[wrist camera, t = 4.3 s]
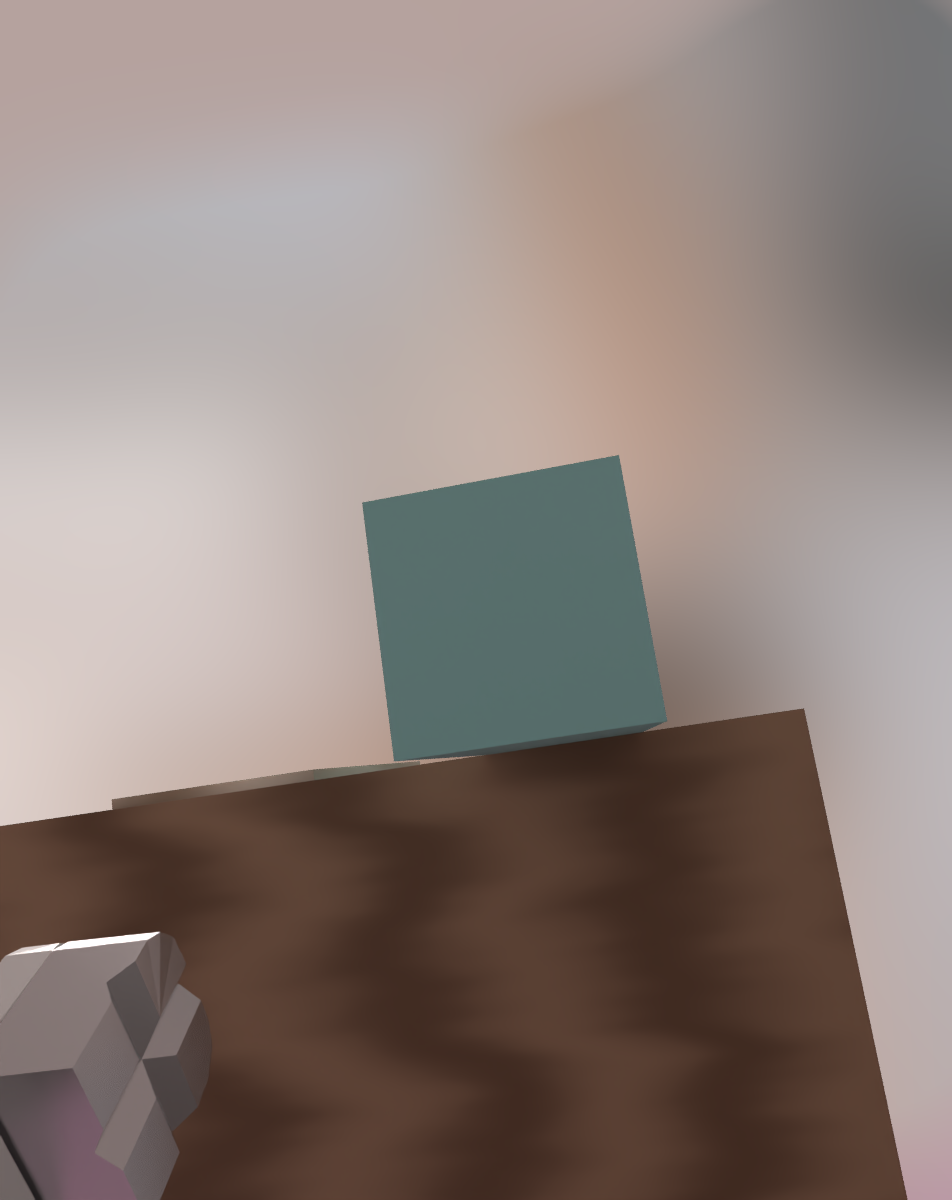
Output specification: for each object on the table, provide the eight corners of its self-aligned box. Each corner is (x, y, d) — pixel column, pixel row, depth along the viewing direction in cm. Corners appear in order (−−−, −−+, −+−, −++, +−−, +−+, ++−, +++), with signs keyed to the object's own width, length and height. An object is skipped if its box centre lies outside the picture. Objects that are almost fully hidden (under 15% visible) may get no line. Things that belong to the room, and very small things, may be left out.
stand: (39, 2015, 20) (-9, 816, 24) (308, 1416, 37) (250, 787, 42) (1086, 2050, 17) (801, 696, 22) (844, 1387, 35) (715, 718, 39)
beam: (394, 760, 13) (362, 503, 14) (536, 751, 38) (522, 661, 39) (667, 721, 12) (619, 454, 13) (628, 738, 38) (612, 646, 39)
